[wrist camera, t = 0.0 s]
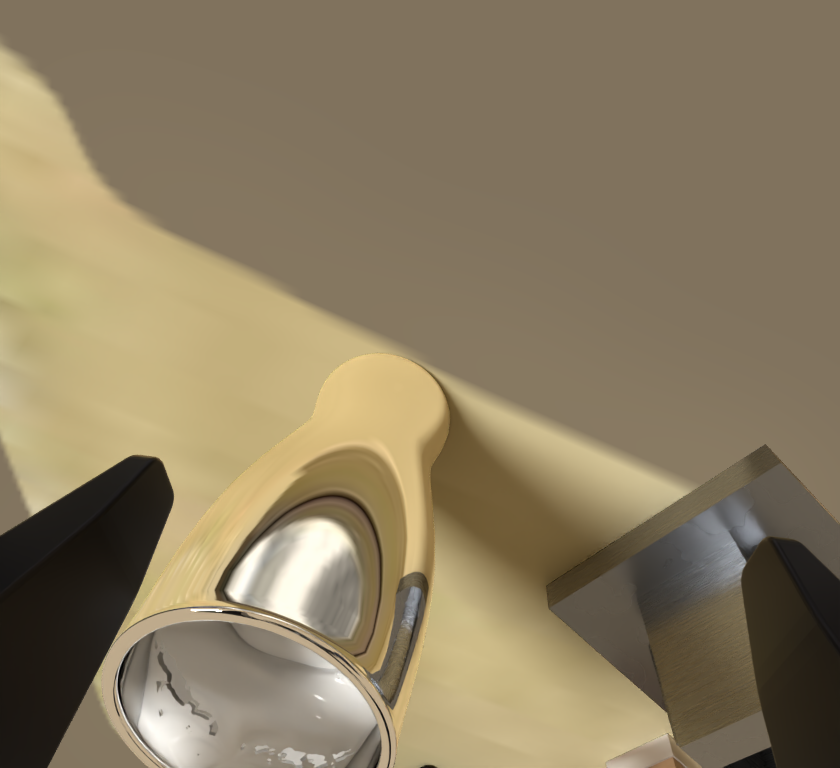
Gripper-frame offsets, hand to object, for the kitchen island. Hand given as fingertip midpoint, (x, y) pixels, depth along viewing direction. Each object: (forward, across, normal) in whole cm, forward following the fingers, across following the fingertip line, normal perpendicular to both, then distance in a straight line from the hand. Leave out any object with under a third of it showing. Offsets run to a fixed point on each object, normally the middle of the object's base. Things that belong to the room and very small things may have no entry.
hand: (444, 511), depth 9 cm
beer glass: (+14, +4, +10) cm, 17 cm away
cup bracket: (+11, -13, +18) cm, 25 cm away
